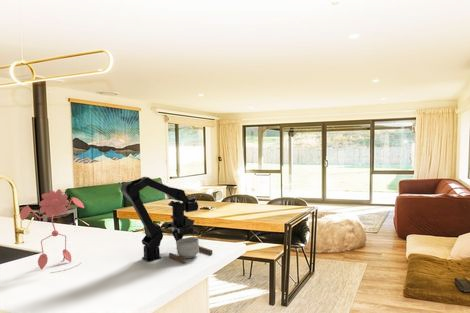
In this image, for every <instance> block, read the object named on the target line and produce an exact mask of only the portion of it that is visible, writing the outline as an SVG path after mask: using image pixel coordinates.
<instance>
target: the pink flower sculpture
mask: <svg viewBox="0 0 470 313" xmlns="http://www.w3.org/2000/svg"><path fill="white" fill-rule="evenodd" d="M41 198H42V199H43V200H41V201H40V202H39V203H38V205H39V206H40V209H39V213H41V214H42V213H43V214H44V213H45V215H42V216H39V215H38V214H37V213H36V212H35V211H34V210H33V209H32V208H30V206H29V205H26V206H24V207H23V208H22V209H21V210H20V212H19V217H20V219H21V221H24V220H25V219H26V218H28V217H29V215H30V214H31V213H33V215H35V217H37V218H38V219H42V218H45V217H47V218H51V224H52V227H53V231H52V232H51V235H49V236H47V237H45V238H43V239H41V240H40V244H41V251H42V254H40V255H39V257H38V259H37V265H38V266H39V267H38V268H40V270H43V269H44V268H45V266H47V263H48V259H49V257H48V254H46V253H44V247H43V241H44V240H46V239H49V238H50V237H52V236H53V237H57V236H58V235H59V236H62V237H64V239H65V240H64V241H65V242H64V244H65V245H64V249H62V255H63V259H62V261H63V262H64V261H65V260H66V261H68V262H72V254H71V252H70V251H69V250H68V249H67V235H65V234H62V233H59V231H58V230H56V227H55V224H54V216H55V217H59V216H60V215H61V214H67V212H68V210H69V208H70V205H71V204H72V202H73V204H74V205H75V206H77V208H78V207H79V208H81V209H85V205H84V203H83V202H82V201H81V200H80V199H79V198H77V197H73V196H71V198H70V200H67V199H68V195H67V194H66V193H65V194H63V190H61V189H60V188H59V189H57V190H56V191H55V190H49V192H48V193H47V192H46V193H42V194H41ZM66 206H67V207H66ZM80 264H82V262H80ZM78 266H79V264H78V265H75V266H73V267H70V268H67V269H63V270H62V272H63V271H64V272H65V271H68V270H70V269H73V268H75V267H76V268H77V267H78ZM59 272H60V270H58V271H57V273H59ZM51 273H53V274H54V273H55V271H51V272H50V274H51Z"/></svg>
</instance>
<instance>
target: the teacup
mask: <svg viewBox="0 0 470 313" xmlns="http://www.w3.org/2000/svg"><path fill="white" fill-rule="evenodd" d="M175 244H176V251H177V255H178V256H180V257H183V258H185V259H192V258H195V257H197V256H196V255H197V254H198V253H199V252H200V251H199V246H200V245H199V244H200V243H199V238H198V237H197V236H193V237H184V238H182V239H180V240H178V241H176V240H175Z"/></svg>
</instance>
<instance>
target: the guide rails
mask: <svg viewBox="0 0 470 313" xmlns="http://www.w3.org/2000/svg"><path fill="white" fill-rule="evenodd" d="M199 252H200V253H201V252H202V253H205V254H207V255H213V249H209V248H208V247H204V246H201V245H199ZM168 258H169V259H171V260H174V261H177V262H179V263H182V264H186V258H183V257H181V256H179V255H178V254H175V253H173V252H169V253H168Z"/></svg>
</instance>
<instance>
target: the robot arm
mask: <svg viewBox="0 0 470 313" xmlns="http://www.w3.org/2000/svg"><path fill="white" fill-rule="evenodd" d="M146 187H148V188H150V189H152V190H156V191H158V192H160V193H163V194H164V195H166V196H167V197H169V198H170V199H171V201H170V202H168V204H167V206H170V207H171V210H172V215H170V219H172V221H168V222H165V223H164V230H168V229H169V228H171V230H169V231H170V233H171V234H172V237H173V239H174V240H175V242H176V241H178V240H180V239H183V237H184V235H188V234H193V233H195V228H194V223H195V220H194V219H192V218H189V216H187V215H185V213H190V212H191V213H192V212H197V211H198V210H199V204H198V201H197V198H196V197H191V198H188V197H187V195H186V191H185V190H183V189H182V188H176V187H173V186H172V187H171V186H168V185H166V184H164V183H161V182H159V181H157V180H155V179H152V178H151V177H148V176H142V177H140V178H137V179H134V180H131V181H125V182H123V183H122V184H121V186H120V188H119V189H120V192H121V193H122V194H123V196H124V197H125V198H126V199H127V200H128V201H129V202H130V203H131V205H132V206H133V209H134V212H136V214H137V216H138V218H139V219H140V222H141V223H142V225H143V227H144V234H145V236H144V237H143V238H142V240H141V243H142V245H143V256H142V259H143V260H146V261H147V262H152V261H155V260H159V259H161V256H160V255H161V253H160V245H161V242H162V240H163V238H164V234H163V233H164V231H163V230H162V228H161V225H160V224H157V223H154V222H153V220H152V218H151V216H150V215H149V214H150V213H148V211H147V208H146V207H145V205H144V203H143V201H142V199H141V193H140V191H142V190H143V189H145V188H146Z"/></svg>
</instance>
